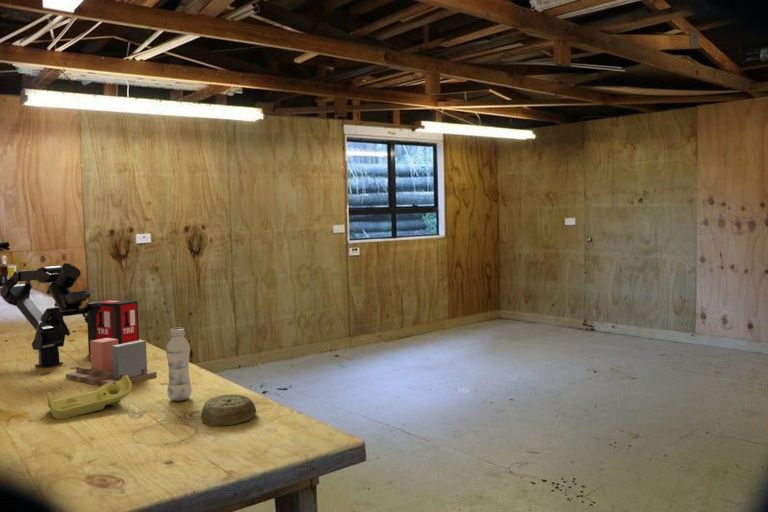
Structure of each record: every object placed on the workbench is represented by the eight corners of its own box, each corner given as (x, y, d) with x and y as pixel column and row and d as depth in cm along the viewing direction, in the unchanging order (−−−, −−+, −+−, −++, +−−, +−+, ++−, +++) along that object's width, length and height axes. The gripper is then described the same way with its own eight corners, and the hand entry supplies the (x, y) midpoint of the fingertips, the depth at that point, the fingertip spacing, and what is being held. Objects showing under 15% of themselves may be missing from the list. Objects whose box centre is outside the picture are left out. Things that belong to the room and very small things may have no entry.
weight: (227, 431, 142) (226, 410, 142) (188, 422, 150) (188, 402, 149) (267, 415, 154) (266, 396, 154) (229, 407, 161) (229, 389, 161)
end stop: (113, 379, 186) (111, 345, 186) (141, 372, 195) (140, 340, 194) (119, 380, 185) (117, 346, 184) (147, 373, 193) (146, 340, 193)
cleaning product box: (139, 352, 234) (137, 301, 233) (121, 357, 225) (119, 304, 224) (107, 349, 240) (105, 299, 239) (88, 354, 232) (86, 302, 231)
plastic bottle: (169, 404, 164) (166, 331, 163) (166, 398, 170) (163, 328, 169) (194, 401, 167) (191, 329, 166) (189, 395, 173) (187, 325, 172)
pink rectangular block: (91, 371, 196) (90, 340, 195) (108, 367, 201) (107, 337, 200) (102, 373, 193) (101, 342, 192) (119, 369, 198) (118, 339, 197)
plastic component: (53, 413, 151) (46, 388, 158) (55, 435, 154) (47, 409, 161) (136, 393, 163) (126, 370, 170) (135, 413, 166) (126, 391, 173)
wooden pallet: (66, 378, 195) (65, 368, 195) (111, 368, 208) (110, 358, 208) (111, 388, 182) (111, 377, 182) (156, 376, 196) (156, 366, 195)
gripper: (45, 284, 196) (65, 322, 191) (98, 279, 212) (117, 314, 207) (32, 305, 201) (51, 343, 196) (84, 298, 217) (103, 333, 212)
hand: (82, 332), depth 203 cm, fingers open, 9 cm apart
